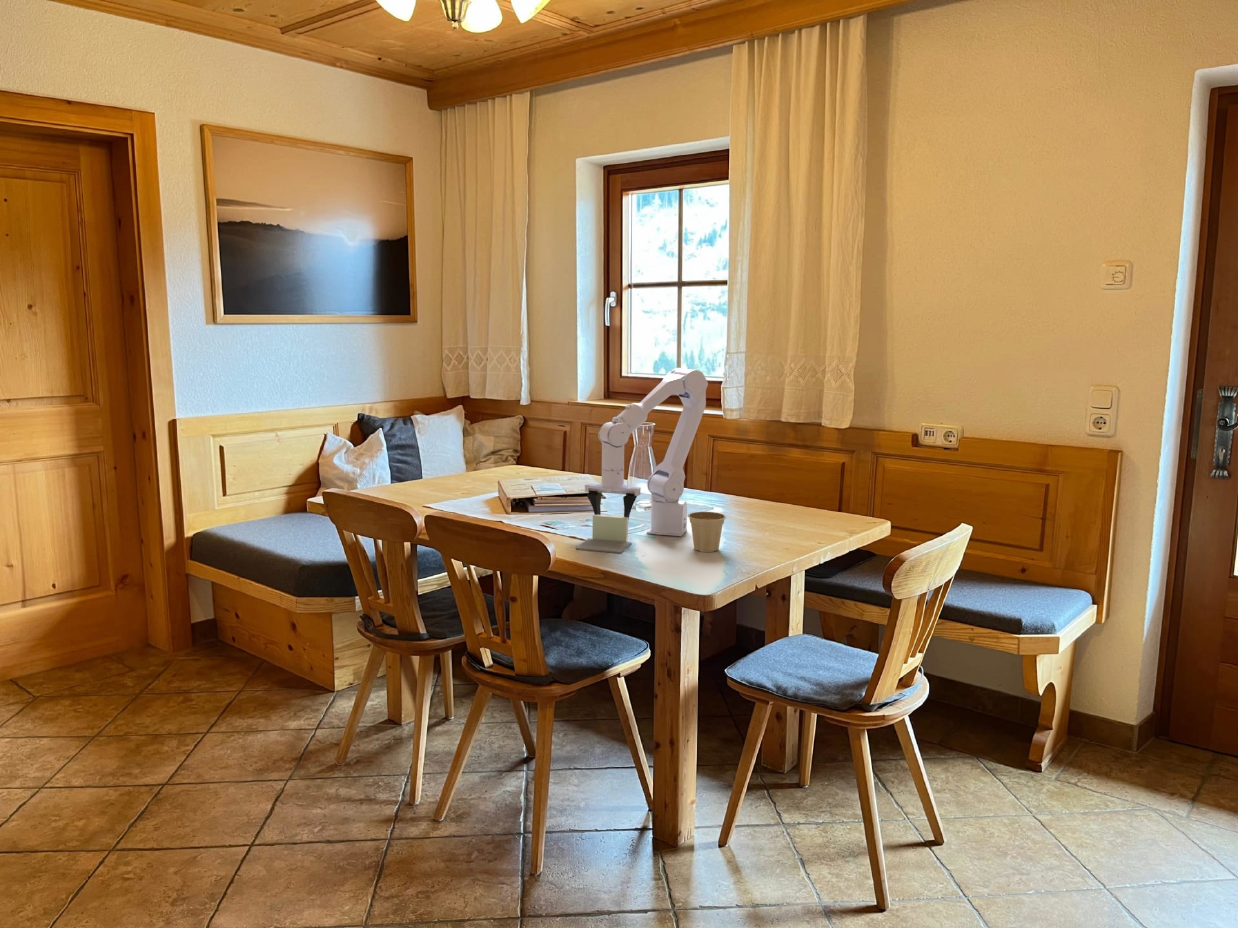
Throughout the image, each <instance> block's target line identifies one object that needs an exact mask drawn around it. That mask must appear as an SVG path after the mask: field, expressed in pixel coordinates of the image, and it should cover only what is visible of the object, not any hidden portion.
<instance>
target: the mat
mask: <svg viewBox="0 0 1238 928" xmlns="http://www.w3.org/2000/svg"><path fill="white" fill-rule="evenodd" d="M631 545H632V542H631V541H628V542H622V541H610V540H598V539H592V538H587V539H586V540H584V541H583V542H582V543H580V544H579V545H578V546H576V548H575V549H576V550H580V551H589V552H590V551H592V552H601V553H613V554H614V553H615V554H622V553H623V552H624V551H625V550H627V548H629V547H630V546H631Z"/></svg>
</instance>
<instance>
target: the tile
mask: <svg viewBox="0 0 1238 928" xmlns="http://www.w3.org/2000/svg"><path fill="white" fill-rule="evenodd" d="M591 539H598V540H610V541H622V542H629V521H628V517H624V516H617V515H606V514H605V515H603V514H601V515H595V514H594V515H592V538H591Z"/></svg>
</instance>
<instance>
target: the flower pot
mask: <svg viewBox="0 0 1238 928" xmlns="http://www.w3.org/2000/svg"><path fill="white" fill-rule="evenodd" d="M687 518H688V519H689V523H690V526H691V533H692V543H693V549H694V550H695V551H700V552H702V553H713V552H715V551H718V550H719V549H720V544H721V543H720V542H721V537H722V529H723V525H724V523H725V519H726V518H727V516H726V515H725V514H724V513H721V512H716V511H694V512H690V513H689V514H688V513H687Z"/></svg>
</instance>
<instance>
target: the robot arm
mask: <svg viewBox="0 0 1238 928" xmlns="http://www.w3.org/2000/svg"><path fill="white" fill-rule="evenodd" d="M708 385H709V383H708V380H707V378H706V376H705V374H704V373H703V372H702V371H701V370H698V369H689V368H688V369H686V368H683V367H676V368H674V369H672V370H671V371H670V372H669V373H667V374H666V375H665V376H664V377H663V379H662V380H661V382H660V383H658V384H657V385H656V387H654V388H653V389H652V390H651V391H650V392H649V393H647V395H646V396H645V397H644V398H643V399H642V400H641V401H640V402H637V403H636V402H632V403H631V404H630V403H628V404H626V405H625V409H624V410H622V411H621V412H620V413H619V414H618V415H617V416H614V417H612V419H611V421H609V422H604V424H603V425H601V427H600V429H599V432H598V433H597V437H598V439H599V441H600V442H601V483H589V482H588V483H585V484H584V493H588V494H587V499H588V501H589V503H590V504H591V507H592V510H593V514H594V515H602V514H601V513H602V511H601V502H602V494H615V495H616V494H617V495H624V496H623V497H622V499H623V501H622V502H623V517H628V522H629V520H630V514H631V511H632V508H633V505H634V504H635V502H636V499H637V497H639V496H640V495H641V489H642V488H641V486H634V485H627V484H626V485H625V484H624V483H625V482H624V480H625V445H626V444H627V443H628V441H629V438H630V435H631V434H633V433H634V431H636V430H637V429H638V428H639V427H640V426H642V425H643V424H644V423H646V421H647V419H648V416H649V415H648V414H649V413H650V412H651V411H652V410H654V409H655V408H656V407H657V406H659V405H660V404H661V403H663V402H664V401H665V400H666V399H668V398H669V397H670V396H674V395H675V396H678V397H679V399H680V401H681V403H682V406H683V408H682V410H681V413H680V416H679V419H678V421H677V424H676V426H675V429H674V432H673V434H672V438H671V440H670V443H669V445H668V448H667V450H666V453H665V456H664V458H663V460H662V462H660V463H658V464H657V465H656V466H655V469H654V471H653V472H652V473H651V475H649V477H648V479H647V482H646V487H647V489H648V492H649V493H650V497H651V499H650V502H651V503H650V505H651V507H650V509H651V510H650V528H649V529H647V530H646V534H650V535H658V536H659V535H660V536H661V535H662V536H672V537H673V536H674V537H683V535H685V533H686V531H687V530H688V528H687V526H688V525H687V523H688V521H687V520H688V503H687V501H685V500H680V498H681V497H682V496H683V494H684V491H685V490H684V487H685V486H684V484H685V483H684V482H685V479H686V475H685V471H684V465H685V463H686V460H687V457H688V455H689V452H690V449H691V447H692V444H693V441H694V440H695V436H696V433H697V431H698V427H699V426H700V423H701V420H702V417H703V415H704V412H705V410H706V406H707V393H706V392H707V387H708Z"/></svg>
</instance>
